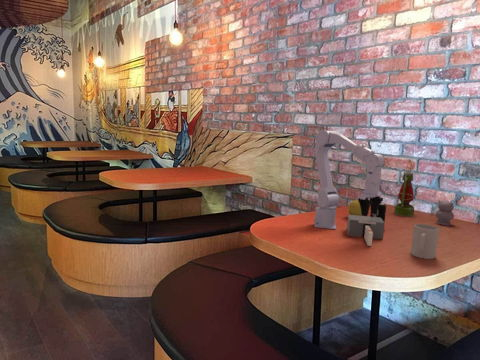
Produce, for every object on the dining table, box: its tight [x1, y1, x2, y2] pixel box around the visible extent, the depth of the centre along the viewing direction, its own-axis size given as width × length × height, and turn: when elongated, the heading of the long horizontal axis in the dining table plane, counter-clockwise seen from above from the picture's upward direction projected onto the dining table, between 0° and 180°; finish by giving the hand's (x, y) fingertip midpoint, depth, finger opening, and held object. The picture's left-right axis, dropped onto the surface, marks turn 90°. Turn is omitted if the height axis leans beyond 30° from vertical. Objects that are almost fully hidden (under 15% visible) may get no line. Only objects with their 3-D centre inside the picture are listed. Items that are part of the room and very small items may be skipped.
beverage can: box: [369, 201, 387, 223], centre depth 183 cm, size 7×7×12 cm
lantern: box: [393, 159, 415, 217], centre depth 217 cm, size 14×11×30 cm
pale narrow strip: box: [363, 225, 373, 247], centre depth 159 cm, size 2×12×6 cm, turn 169°
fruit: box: [347, 199, 370, 216], centre depth 201 cm, size 10×11×10 cm
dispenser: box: [346, 214, 386, 240], centre depth 171 cm, size 14×11×7 cm
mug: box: [410, 223, 440, 260], centre depth 144 cm, size 12×8×11 cm
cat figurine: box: [435, 199, 455, 226], centre depth 200 cm, size 8×8×12 cm
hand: (369, 214), depth 165 cm, fingers open, 7 cm apart
